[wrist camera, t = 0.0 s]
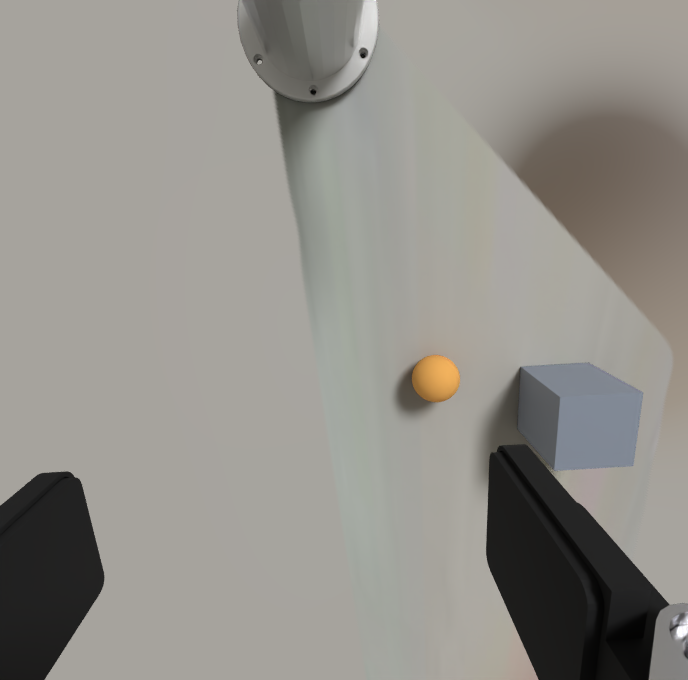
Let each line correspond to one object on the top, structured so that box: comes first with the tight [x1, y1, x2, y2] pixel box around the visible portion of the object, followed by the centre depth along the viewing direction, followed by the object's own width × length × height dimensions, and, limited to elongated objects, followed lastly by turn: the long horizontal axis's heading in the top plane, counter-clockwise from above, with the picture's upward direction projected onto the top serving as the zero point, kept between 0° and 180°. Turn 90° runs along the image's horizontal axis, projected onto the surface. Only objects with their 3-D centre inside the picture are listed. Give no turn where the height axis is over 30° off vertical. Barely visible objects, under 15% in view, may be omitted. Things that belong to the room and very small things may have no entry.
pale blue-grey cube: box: [517, 363, 643, 471], centre depth 45 cm, size 8×8×9 cm
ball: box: [412, 355, 460, 402], centre depth 45 cm, size 5×5×5 cm
